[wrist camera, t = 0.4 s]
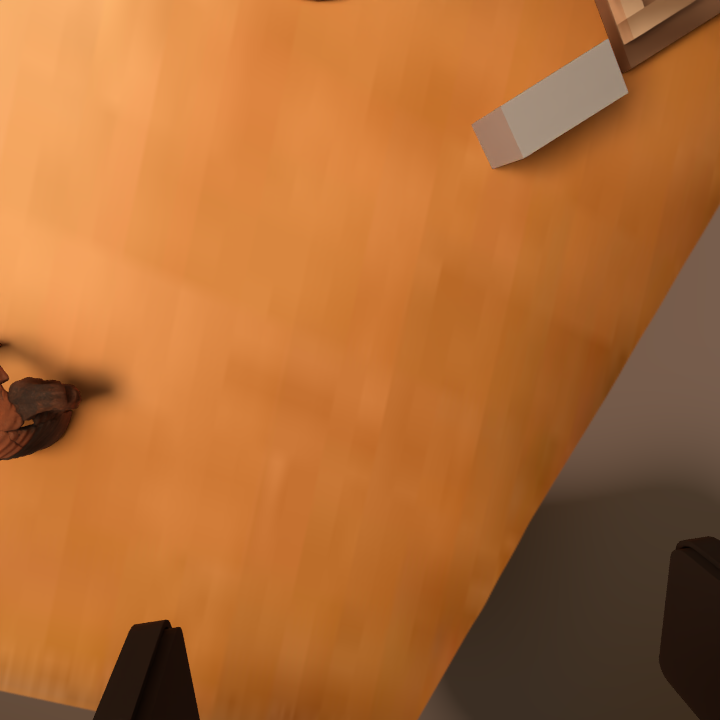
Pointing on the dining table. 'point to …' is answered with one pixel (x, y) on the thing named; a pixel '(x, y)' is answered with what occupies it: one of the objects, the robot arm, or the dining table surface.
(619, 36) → the jig
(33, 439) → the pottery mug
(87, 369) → the dining table surface
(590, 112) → the grey rectangular block
